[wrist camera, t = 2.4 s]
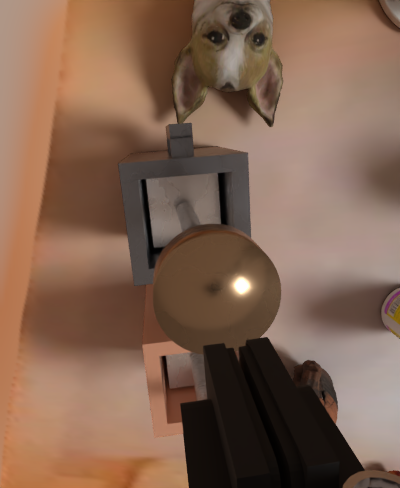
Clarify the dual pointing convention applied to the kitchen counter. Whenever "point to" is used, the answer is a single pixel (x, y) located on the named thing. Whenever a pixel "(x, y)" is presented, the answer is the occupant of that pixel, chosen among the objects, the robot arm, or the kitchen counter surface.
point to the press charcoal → (171, 165)
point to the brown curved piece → (318, 384)
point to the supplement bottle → (392, 312)
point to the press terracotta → (162, 374)
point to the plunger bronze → (207, 268)
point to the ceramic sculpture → (229, 57)
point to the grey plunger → (187, 372)
